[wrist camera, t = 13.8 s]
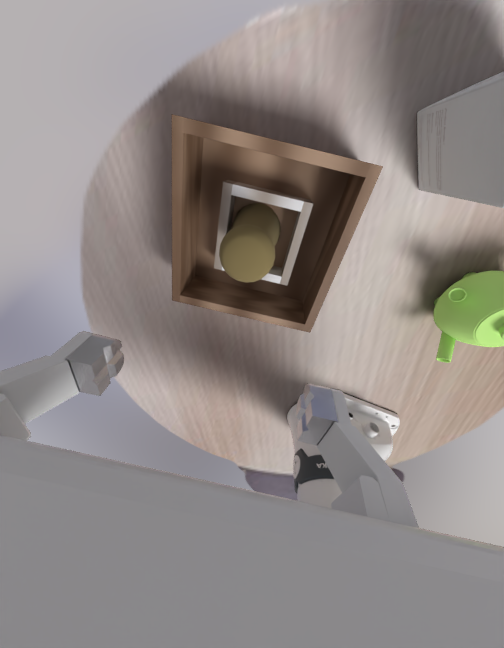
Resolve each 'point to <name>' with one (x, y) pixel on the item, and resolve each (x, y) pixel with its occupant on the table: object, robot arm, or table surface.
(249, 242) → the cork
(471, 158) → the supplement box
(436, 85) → the table surface
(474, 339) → the teapot
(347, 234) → the walled box
